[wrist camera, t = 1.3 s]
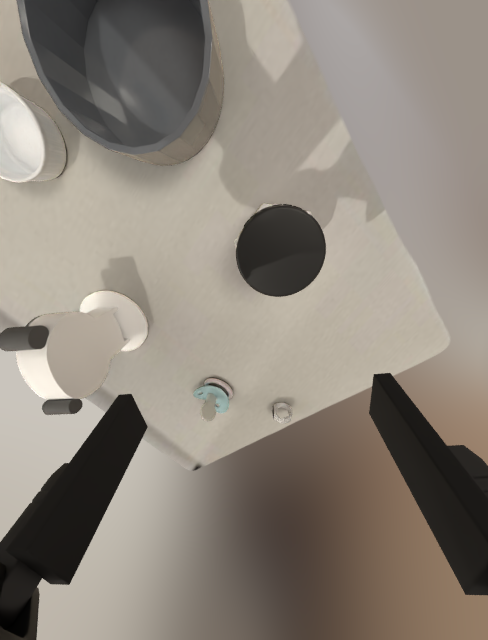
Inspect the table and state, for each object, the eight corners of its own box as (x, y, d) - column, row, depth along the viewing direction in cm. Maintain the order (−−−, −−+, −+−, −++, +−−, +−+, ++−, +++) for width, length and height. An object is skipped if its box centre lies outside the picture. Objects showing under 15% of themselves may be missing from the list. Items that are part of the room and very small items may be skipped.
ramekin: (5, 72, 25) (-40, 49, 21) (82, 134, 27) (54, 123, 23) (-10, 151, 29) (-52, 142, 25) (59, 200, 31) (31, 200, 27)
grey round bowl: (58, 80, 25) (-14, 35, 19) (136, -86, 20) (74, -232, 13) (166, 194, 30) (140, 192, 23) (253, 83, 24) (251, 38, 18)
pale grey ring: (291, 400, 45) (294, 417, 41) (290, 408, 46) (293, 426, 42) (272, 400, 45) (273, 416, 41) (272, 408, 46) (273, 425, 42)
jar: (313, 210, 30) (345, 214, 19) (297, 272, 33) (315, 304, 23) (245, 198, 29) (237, 195, 19) (236, 261, 33) (226, 289, 22)
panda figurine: (67, 289, 37) (-43, 338, 23) (134, 283, 35) (60, 331, 22) (96, 352, 42) (21, 421, 29) (156, 348, 41) (106, 418, 27)
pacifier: (212, 370, 43) (191, 387, 45) (205, 394, 37) (183, 413, 39) (240, 391, 45) (220, 407, 47) (238, 418, 39) (215, 434, 41)
